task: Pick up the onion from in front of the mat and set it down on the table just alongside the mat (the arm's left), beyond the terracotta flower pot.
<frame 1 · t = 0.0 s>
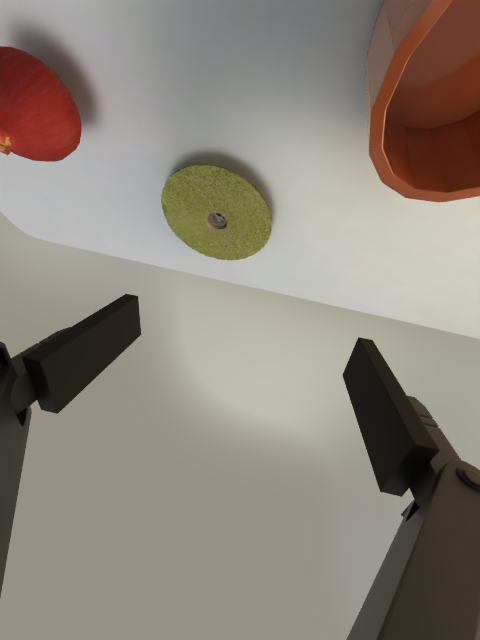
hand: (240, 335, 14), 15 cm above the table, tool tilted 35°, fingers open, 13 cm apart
onion: (60, 84, 18), on the table
mat: (220, 208, 25), on the table
flower pot: (466, 31, 12), on the table
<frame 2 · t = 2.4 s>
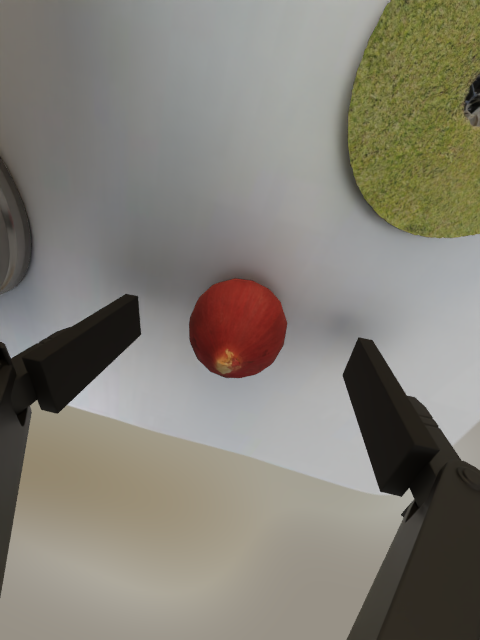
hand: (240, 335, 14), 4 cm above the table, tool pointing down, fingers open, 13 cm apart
onion: (246, 302, 18), on the table
mat: (461, 110, 12), on the table
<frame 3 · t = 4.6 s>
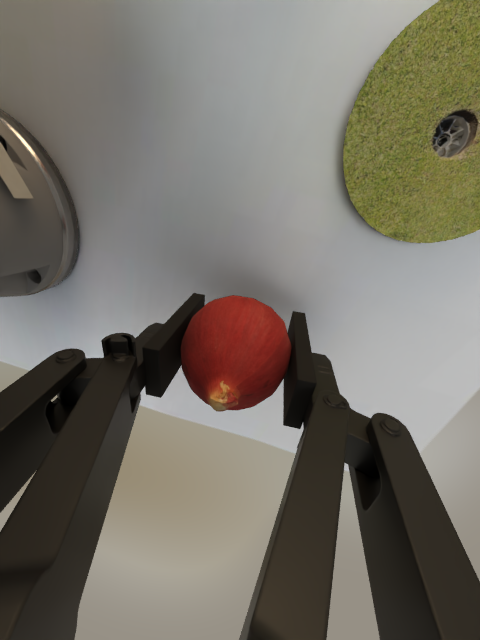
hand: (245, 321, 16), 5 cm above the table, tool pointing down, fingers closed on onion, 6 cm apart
onion: (246, 318, 17), point 5 cm above the table, touching gripper
mat: (434, 143, 15), on the table
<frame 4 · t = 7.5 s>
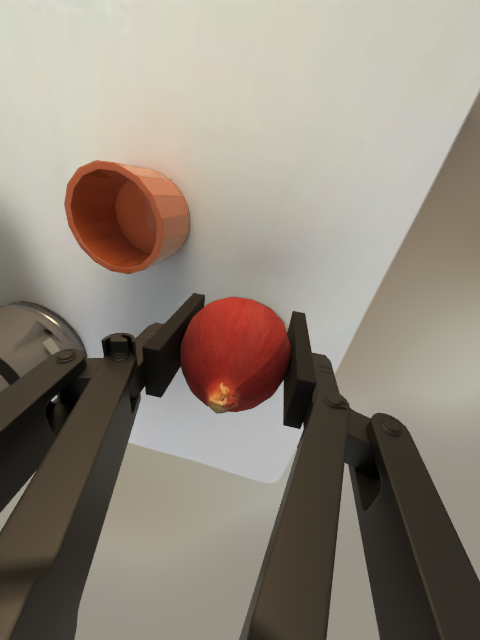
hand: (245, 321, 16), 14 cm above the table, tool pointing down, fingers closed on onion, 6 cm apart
onion: (245, 319, 17), point 13 cm above the table, touching gripper
flower pot: (151, 217, 28), on the table
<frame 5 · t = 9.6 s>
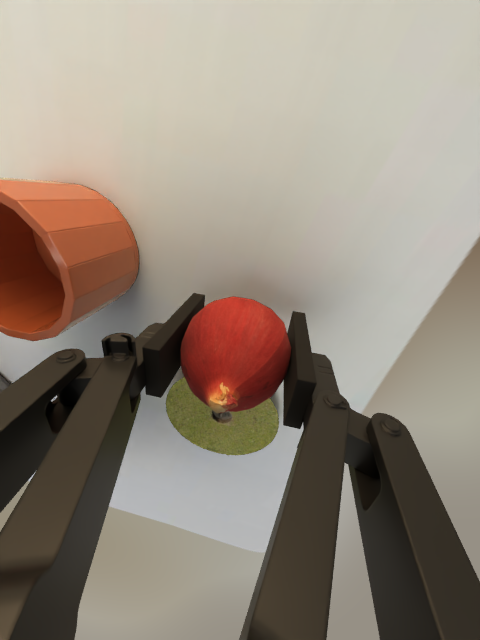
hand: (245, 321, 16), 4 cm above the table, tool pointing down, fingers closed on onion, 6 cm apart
onion: (245, 319, 17), point 3 cm above the table, touching gripper
mat: (225, 401, 25), on the table
flower pot: (86, 247, 20), on the table
when the fingers open (0 cm above the table, at t = 10.8 s): onion stays where it is, on the table.
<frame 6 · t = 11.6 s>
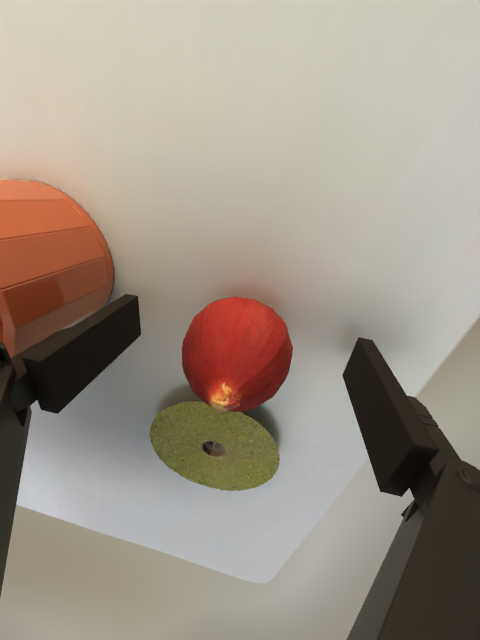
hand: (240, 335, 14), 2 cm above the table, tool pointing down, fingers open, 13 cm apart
onion: (247, 319, 17), on the table
mat: (218, 430, 22), on the table
flower pot: (51, 256, 17), on the table
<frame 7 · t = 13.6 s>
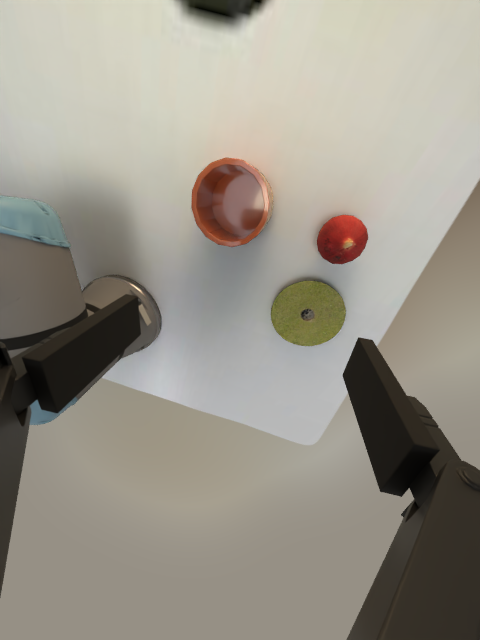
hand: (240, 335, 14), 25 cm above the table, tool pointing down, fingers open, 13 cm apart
onion: (336, 236, 34), on the table
mat: (306, 310, 39), on the table
flower pot: (240, 204, 34), on the table
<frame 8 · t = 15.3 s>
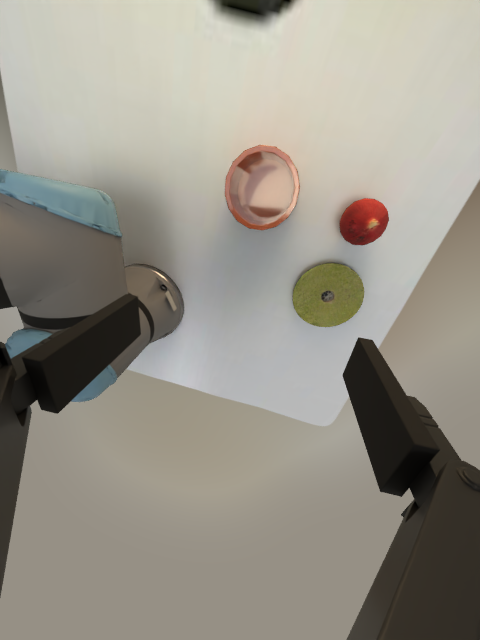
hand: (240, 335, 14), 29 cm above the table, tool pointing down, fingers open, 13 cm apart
onion: (355, 220, 36), on the table
mat: (325, 292, 42), on the table
flower pot: (265, 191, 36), on the table
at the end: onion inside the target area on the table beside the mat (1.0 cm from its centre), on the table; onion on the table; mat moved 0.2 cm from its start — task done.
